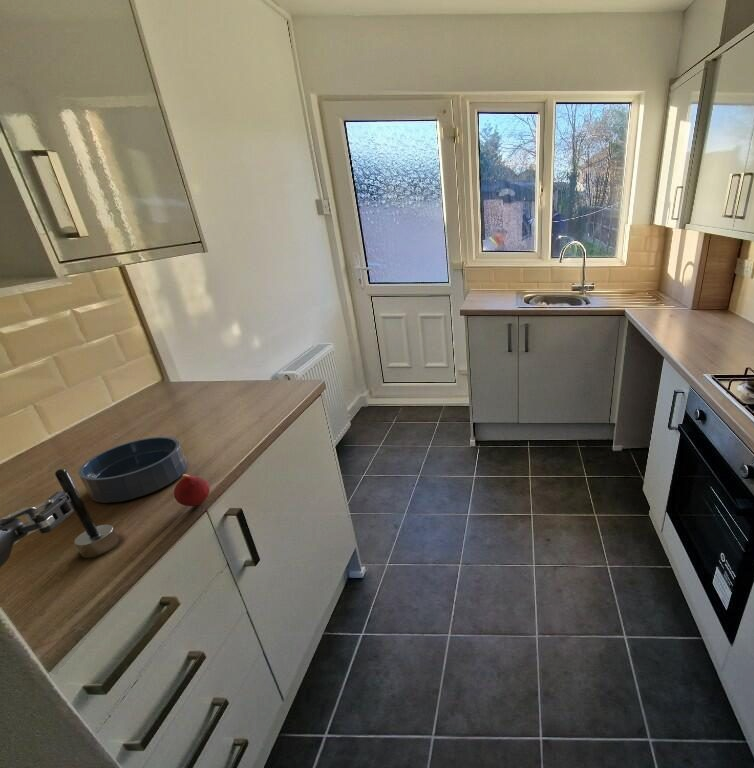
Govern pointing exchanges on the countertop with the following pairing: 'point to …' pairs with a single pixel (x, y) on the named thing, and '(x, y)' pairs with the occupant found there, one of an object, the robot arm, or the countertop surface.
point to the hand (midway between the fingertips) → (28, 506)
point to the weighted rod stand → (87, 523)
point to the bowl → (133, 469)
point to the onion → (191, 490)
